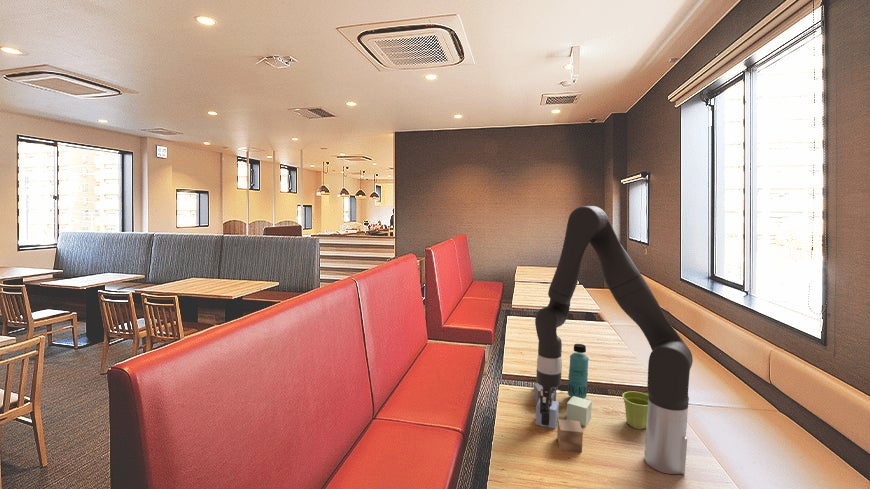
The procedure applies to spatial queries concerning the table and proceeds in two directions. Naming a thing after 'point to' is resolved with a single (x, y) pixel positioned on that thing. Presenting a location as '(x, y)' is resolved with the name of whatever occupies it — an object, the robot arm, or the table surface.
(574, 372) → the beverage bottle
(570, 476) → the table surface
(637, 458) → the table surface
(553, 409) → the slate blue block
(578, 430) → the walnut block
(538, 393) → the charcoal block
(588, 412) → the sage block
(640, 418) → the plant pot
